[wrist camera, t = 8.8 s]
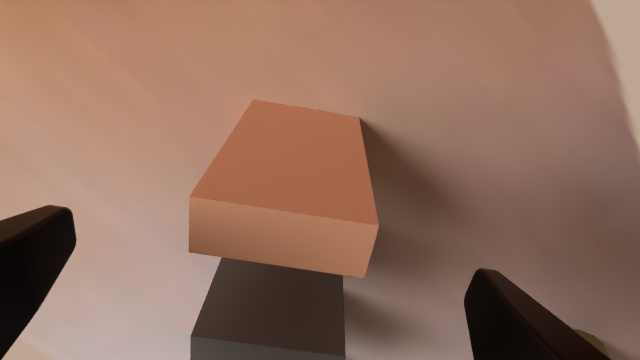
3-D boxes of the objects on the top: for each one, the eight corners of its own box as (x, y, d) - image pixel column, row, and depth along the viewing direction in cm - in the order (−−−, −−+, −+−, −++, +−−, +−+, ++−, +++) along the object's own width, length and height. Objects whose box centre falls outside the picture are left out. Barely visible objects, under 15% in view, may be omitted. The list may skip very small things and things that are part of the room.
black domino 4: (334, 237, 19) (335, 392, 12) (244, 223, 19) (190, 372, 12) (340, 209, 18) (345, 356, 11) (246, 195, 18) (190, 335, 11)
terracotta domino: (351, 152, 17) (364, 278, 10) (249, 135, 17) (188, 252, 10) (358, 117, 16) (379, 226, 9) (253, 99, 16) (189, 196, 9)
